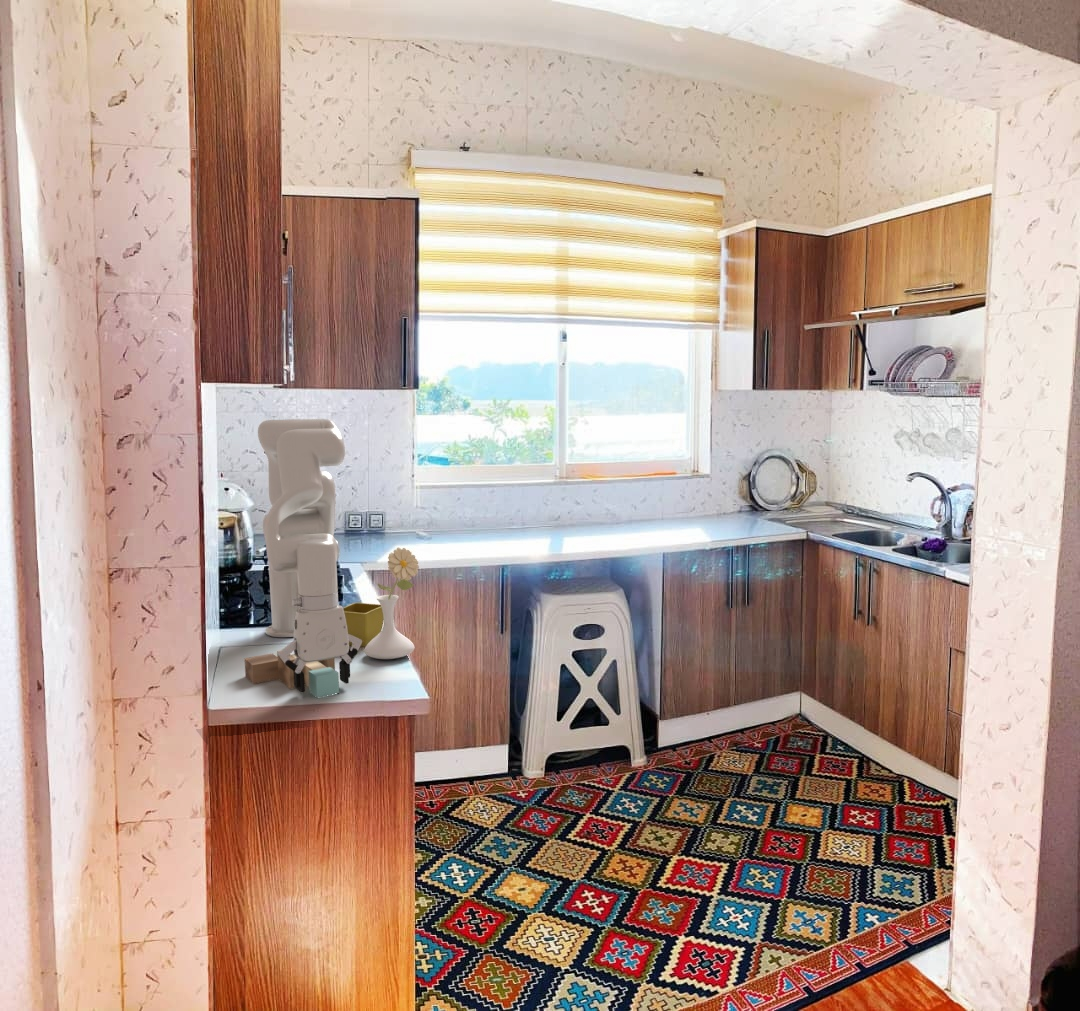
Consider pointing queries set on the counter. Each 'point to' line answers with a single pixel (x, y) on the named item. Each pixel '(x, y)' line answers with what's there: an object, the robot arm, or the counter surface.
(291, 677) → the channel
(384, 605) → the flower in vase
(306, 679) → the push bar
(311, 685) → the block
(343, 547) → the counter surface
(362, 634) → the flower pot
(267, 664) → the pedestal
